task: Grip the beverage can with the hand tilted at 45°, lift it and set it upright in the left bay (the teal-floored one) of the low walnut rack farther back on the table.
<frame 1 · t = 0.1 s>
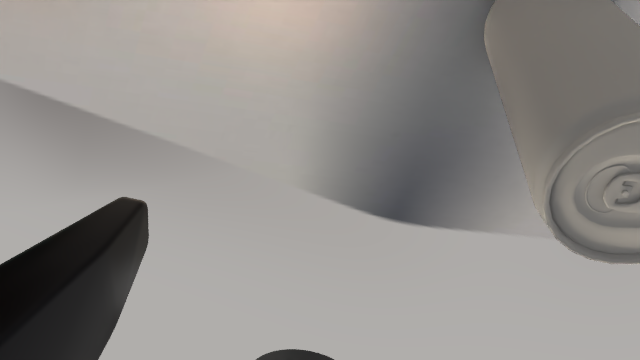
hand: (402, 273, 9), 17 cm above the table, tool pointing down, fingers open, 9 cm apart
beverage can: (540, 21, 23), on the table
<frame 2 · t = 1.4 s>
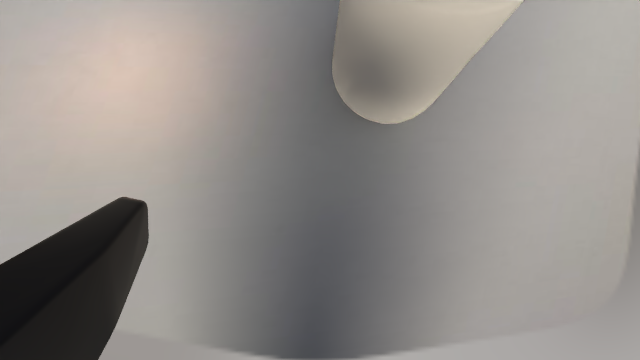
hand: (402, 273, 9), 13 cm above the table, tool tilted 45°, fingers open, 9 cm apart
beverage can: (386, 74, 24), on the table
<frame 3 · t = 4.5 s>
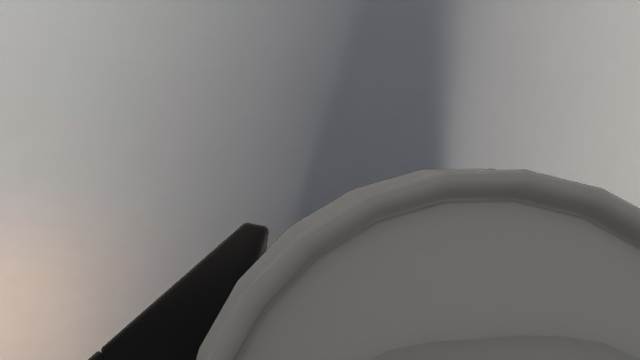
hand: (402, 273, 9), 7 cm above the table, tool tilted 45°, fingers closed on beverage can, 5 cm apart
beverage can: (351, 315, 16), on the table, touching gripper
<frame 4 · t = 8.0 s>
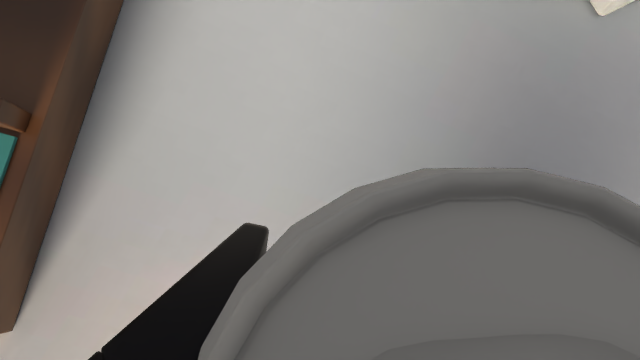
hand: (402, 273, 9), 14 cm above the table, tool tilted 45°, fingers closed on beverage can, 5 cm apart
beverage can: (352, 315, 16), point 7 cm above the table, touching gripper
when the fingers open (10 cm above the table, at t = 11.6 s): beverage can stays where it is, resting on rack.
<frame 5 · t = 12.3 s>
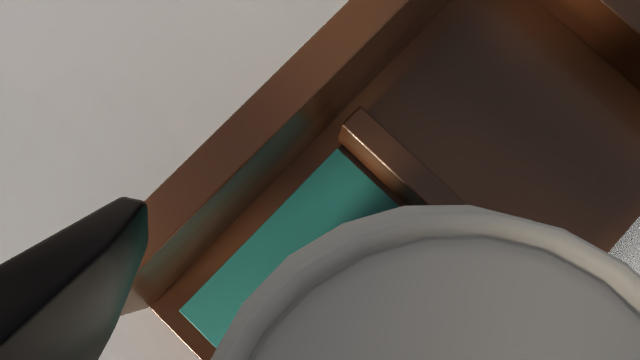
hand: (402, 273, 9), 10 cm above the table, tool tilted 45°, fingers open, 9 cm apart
beverage can: (349, 322, 16), point 3 cm above the table, touching rack
rack: (480, 138, 20), on the table
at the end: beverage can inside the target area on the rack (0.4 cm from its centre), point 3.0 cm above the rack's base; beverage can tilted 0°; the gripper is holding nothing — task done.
